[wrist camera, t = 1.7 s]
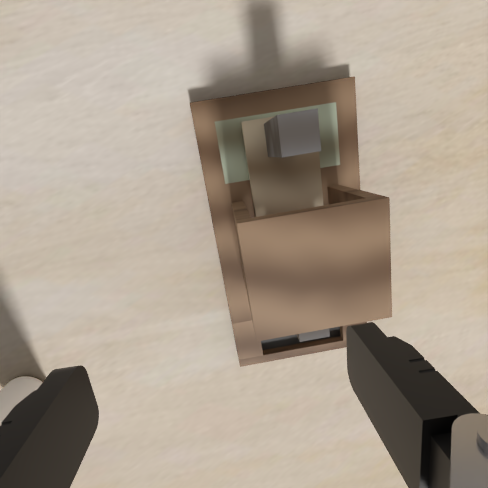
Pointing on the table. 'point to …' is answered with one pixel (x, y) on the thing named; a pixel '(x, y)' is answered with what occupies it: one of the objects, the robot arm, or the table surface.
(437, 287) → the table surface
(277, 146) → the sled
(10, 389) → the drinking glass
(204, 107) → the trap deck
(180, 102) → the table surface
